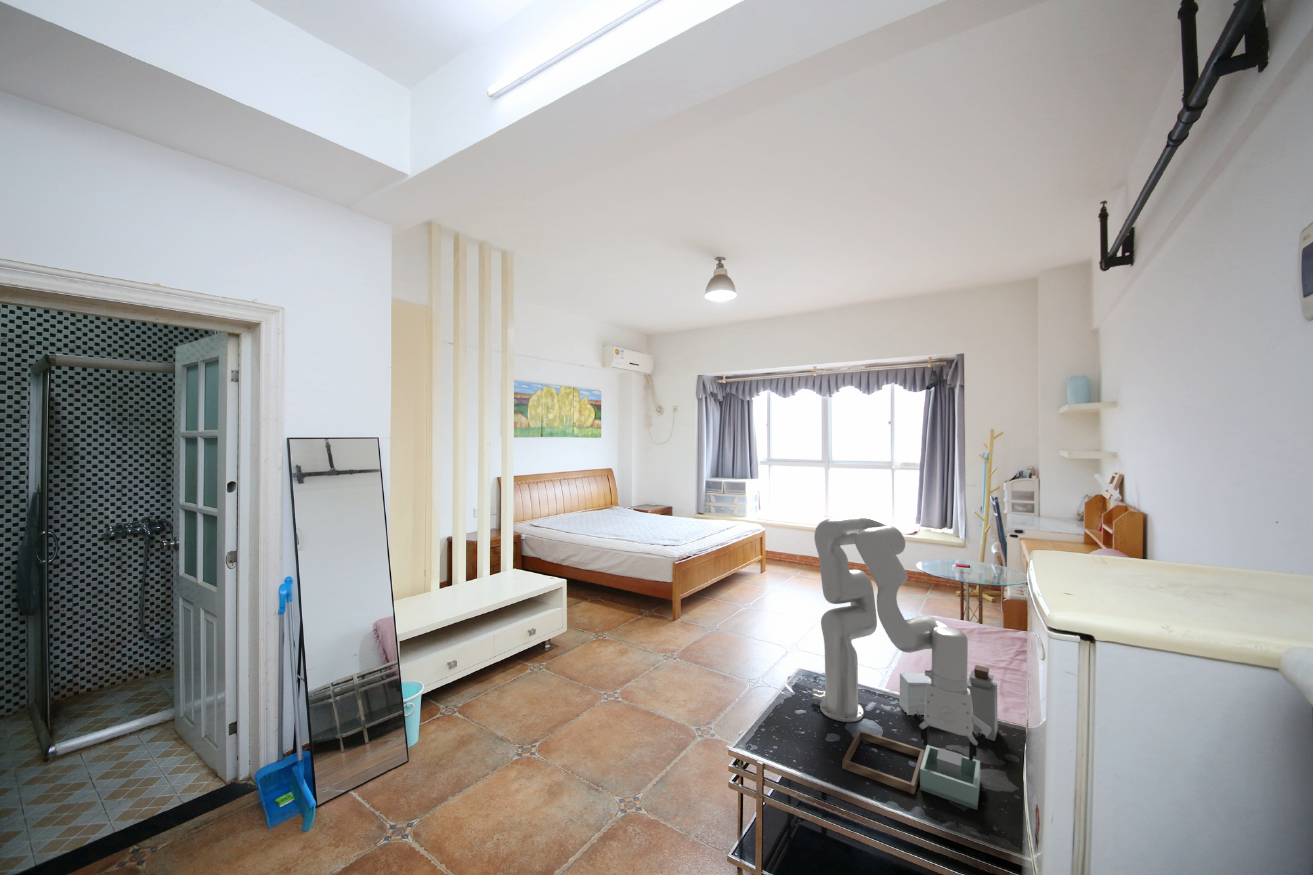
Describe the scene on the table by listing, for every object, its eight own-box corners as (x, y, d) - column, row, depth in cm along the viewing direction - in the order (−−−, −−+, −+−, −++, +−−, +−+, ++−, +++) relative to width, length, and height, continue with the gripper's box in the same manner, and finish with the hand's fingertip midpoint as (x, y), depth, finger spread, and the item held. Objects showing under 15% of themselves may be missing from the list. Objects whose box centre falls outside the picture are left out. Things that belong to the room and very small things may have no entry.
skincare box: (908, 716, 153) (908, 682, 153) (899, 705, 160) (898, 672, 160) (943, 716, 153) (943, 682, 153) (932, 705, 159) (932, 672, 159)
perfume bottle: (970, 721, 150) (969, 661, 150) (997, 729, 146) (997, 667, 146) (966, 732, 145) (966, 669, 145) (994, 741, 141) (994, 676, 141)
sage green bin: (920, 789, 122) (920, 768, 122) (927, 763, 131) (927, 744, 131) (977, 809, 115) (977, 787, 115) (980, 781, 124) (980, 760, 124)
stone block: (936, 782, 122) (936, 758, 122) (939, 771, 127) (939, 747, 127) (961, 791, 120) (960, 765, 120) (962, 779, 124) (962, 754, 124)
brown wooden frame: (842, 768, 130) (842, 760, 130) (858, 736, 143) (858, 729, 143) (914, 794, 120) (914, 785, 120) (924, 757, 134) (924, 750, 134)
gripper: (907, 676, 125) (906, 745, 125) (991, 698, 115) (989, 772, 115) (912, 665, 131) (911, 730, 132) (992, 684, 121) (991, 755, 122)
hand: (948, 750), depth 124 cm, fingers open, 9 cm apart
